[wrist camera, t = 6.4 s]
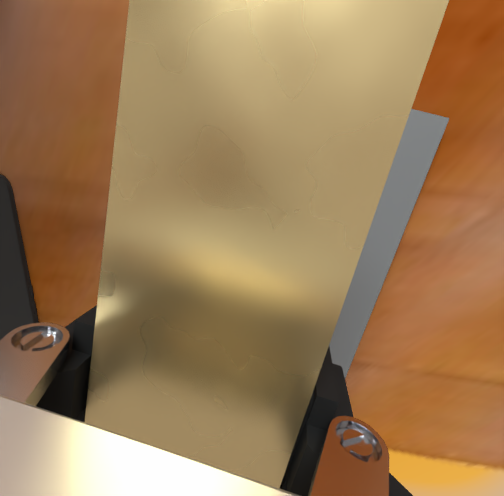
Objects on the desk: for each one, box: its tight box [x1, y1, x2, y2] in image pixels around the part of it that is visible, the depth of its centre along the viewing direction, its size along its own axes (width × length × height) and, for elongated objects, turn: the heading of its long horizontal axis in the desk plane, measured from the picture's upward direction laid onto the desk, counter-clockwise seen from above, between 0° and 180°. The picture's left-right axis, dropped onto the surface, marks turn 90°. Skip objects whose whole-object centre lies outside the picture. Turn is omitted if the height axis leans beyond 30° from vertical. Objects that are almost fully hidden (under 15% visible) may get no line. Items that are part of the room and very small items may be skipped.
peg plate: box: [329, 109, 449, 378], centre depth 20 cm, size 18×21×4 cm
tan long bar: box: [85, 0, 449, 488], centre depth 10 cm, size 20×5×5 cm, turn 166°
